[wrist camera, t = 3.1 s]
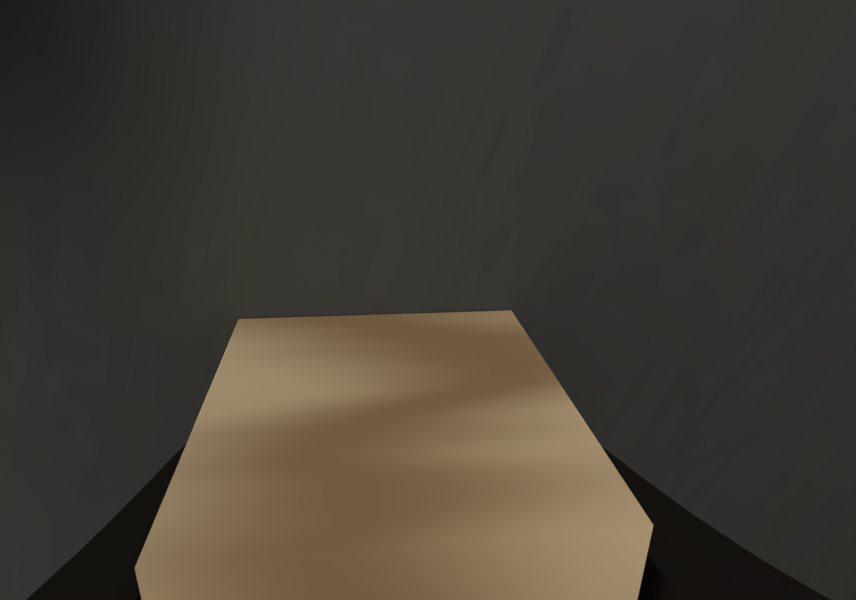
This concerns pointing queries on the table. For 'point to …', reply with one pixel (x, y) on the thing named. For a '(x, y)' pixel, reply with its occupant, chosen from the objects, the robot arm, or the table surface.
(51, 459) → the table surface
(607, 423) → the table surface
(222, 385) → the birch block
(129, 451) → the table surface
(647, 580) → the robot arm
